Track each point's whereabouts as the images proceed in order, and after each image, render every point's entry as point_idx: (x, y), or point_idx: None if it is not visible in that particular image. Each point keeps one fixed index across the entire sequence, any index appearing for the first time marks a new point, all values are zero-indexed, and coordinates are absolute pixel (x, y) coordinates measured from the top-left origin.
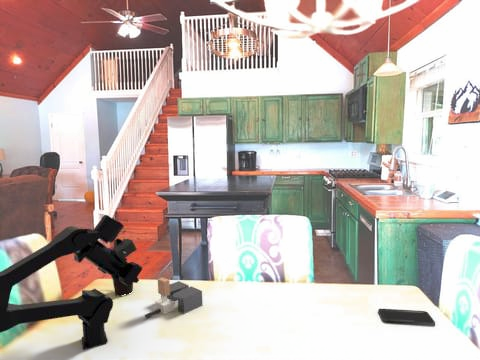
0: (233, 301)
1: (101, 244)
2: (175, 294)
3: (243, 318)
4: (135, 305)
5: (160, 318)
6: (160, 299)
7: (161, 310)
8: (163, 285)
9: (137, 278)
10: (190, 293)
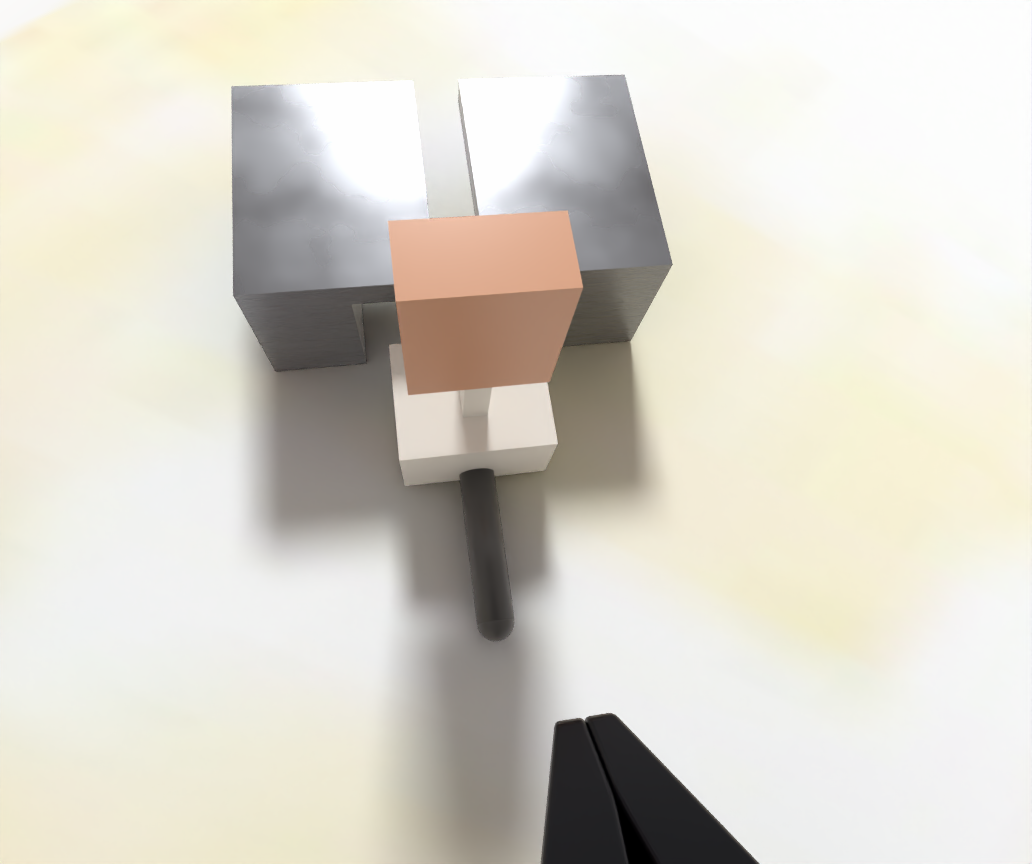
0: (681, 17)
1: None
2: None
3: (927, 113)
4: (129, 597)
5: (574, 522)
6: (396, 401)
7: (506, 467)
8: (547, 320)
9: (659, 769)
10: (608, 166)
